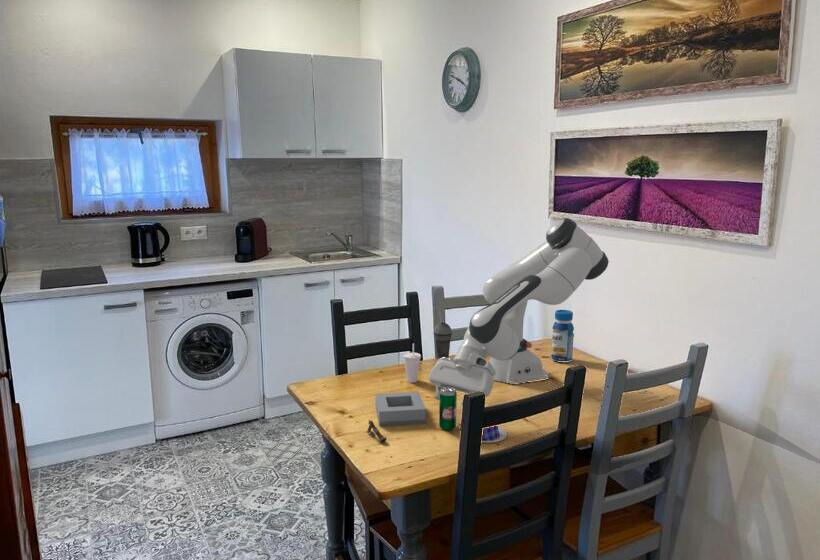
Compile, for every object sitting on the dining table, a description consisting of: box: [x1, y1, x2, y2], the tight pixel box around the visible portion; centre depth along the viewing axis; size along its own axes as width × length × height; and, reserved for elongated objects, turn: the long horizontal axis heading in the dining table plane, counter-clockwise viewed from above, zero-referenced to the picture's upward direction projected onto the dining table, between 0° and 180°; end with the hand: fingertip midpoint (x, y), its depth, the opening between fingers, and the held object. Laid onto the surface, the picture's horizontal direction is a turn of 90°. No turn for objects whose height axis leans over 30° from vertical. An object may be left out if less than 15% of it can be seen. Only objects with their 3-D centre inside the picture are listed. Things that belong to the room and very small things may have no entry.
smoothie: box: [402, 343, 422, 384], centre depth 215 cm, size 6×6×14 cm
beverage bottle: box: [550, 309, 575, 361], centre depth 237 cm, size 8×8×20 cm
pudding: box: [481, 425, 508, 443], centre depth 173 cm, size 12×12×5 cm
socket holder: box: [374, 391, 427, 427], centre depth 187 cm, size 14×14×4 cm
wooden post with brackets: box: [366, 419, 387, 444], centre depth 172 cm, size 2×8×4 cm, turn 38°
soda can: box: [438, 387, 458, 431], centre depth 177 cm, size 5×5×12 cm
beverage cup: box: [433, 311, 453, 361], centre depth 236 cm, size 7×7×20 cm
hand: (450, 402), depth 177 cm, fingers open, 8 cm apart
